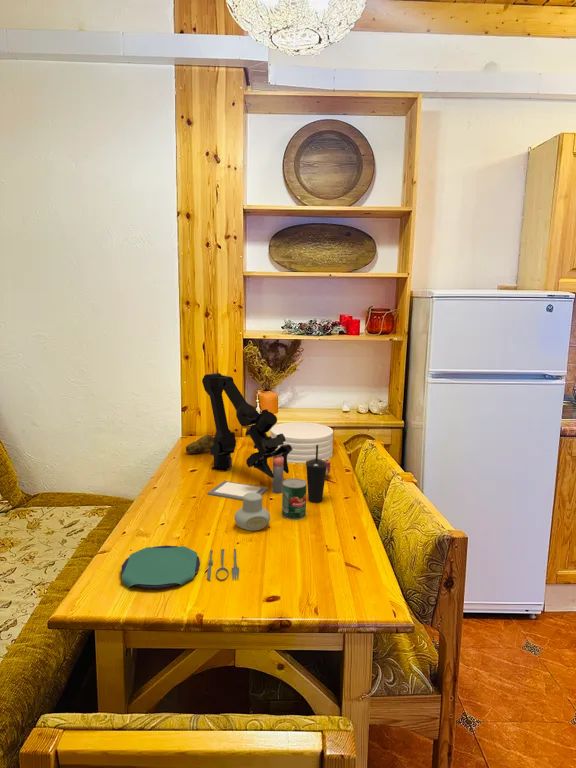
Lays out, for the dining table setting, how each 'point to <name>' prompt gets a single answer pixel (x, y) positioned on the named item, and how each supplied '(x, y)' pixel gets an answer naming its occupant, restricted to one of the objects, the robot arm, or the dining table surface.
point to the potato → (200, 445)
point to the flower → (327, 468)
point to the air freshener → (252, 513)
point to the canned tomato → (294, 499)
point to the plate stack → (305, 440)
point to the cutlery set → (166, 567)
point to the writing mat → (235, 490)
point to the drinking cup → (316, 478)
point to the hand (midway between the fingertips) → (280, 475)
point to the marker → (278, 474)
